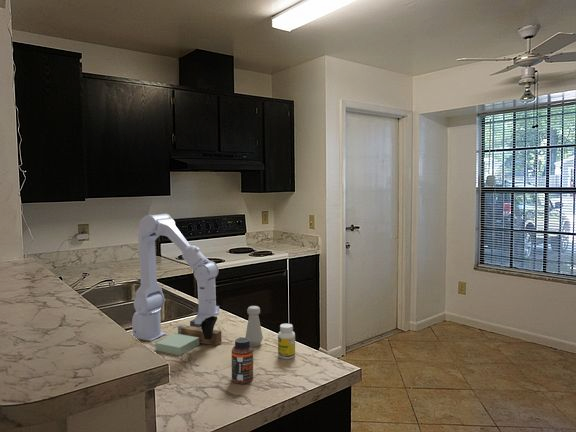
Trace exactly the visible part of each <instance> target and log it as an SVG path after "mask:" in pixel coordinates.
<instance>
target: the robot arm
mask: <svg viewBox="0 0 576 432" xmlns="http://www.w3.org/2000/svg"><path fill="white" fill-rule="evenodd" d="M160 236H164V237H167V238H168V239H169V240H170V241H171V242H172V243H173V244H174V245H175V246H176V247H177V248H178V250H180V251H181V257H182V259H183V261H185V262H186V263H187V265H189V267H190V268H191V269H192V270H193V276H194V279H195V280H196V283H197V284H196V285H197V292H198V293H197V294H198V295H197V299H198V302H197V303H198V311H197V314H196V317H195V318H194V319H195V324H200V326H201V327H200V328H202V331H203V335H204V338H205V339H211V338H212V333H213V330H215V329H214V328H215V325H216V322H217V320H218V315H220V305H217V295H216V293H217V292H216V287H217V286H216V278H217V276H218V275H219V267H218V265H217V263H216V262H214V261H212V260H209V259H208V257H206V256H205V255H204V254H203V253H202V251H201V248H200V247H199V246H196V245H191V243H189V242H188V240H187V239H186V237H185V236H184V235H183V233H181V231H180V229H179V228H178V227H177V226H176V221H175V220H174V219H173V217H172V216H170V214H168V213H160V214H146V215H144V216H143V217H142V218H141V219H140V220H139V230H138V237H137V240H138V241H137V242H138V244H137V245H138V256H139V257H138V258H139V261H138V262H139V276H140V277H139V278H140V286H139V287H138V288H137V289H136V291H135V292H134V294H135V298H134V300H133V308H134V309H135V312H134V313H133V316H132V319H131V320H132V322H131V323H132V325H131V326H132V335H133V336H135V337H136V338H135V339H139V340H145V341H149V342H152V341H154V340H157V339H159V338H161V337H163V336H165V335H167V332H165V331H162V326H161V325H162V323H161V310H162V306H164V305H165V302H166V301H165V295H164V293H163V288H162V286H160V285H159V284H158V279H157V278H158V276H157V275H158V273H157V257H156V240H157V239H158V238H159V237H160Z"/></svg>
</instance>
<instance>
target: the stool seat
mask: <svg viewBox="0 0 576 432" xmlns="http://www.w3.org/2000/svg"><path fill="white" fill-rule="evenodd" d="M198 346H200V342H199V337H194V336H188V335H183V334H178V332H176V333H173V334H171V335H169V336H166V337H165V338H162V339H161V340H159V341H156V342H155V351H157V352H161V353H168V354H173V355H176V356H182V355H184V354H185V353H187V352H188V351H191V350H192V349H194V348H196V347H198Z"/></svg>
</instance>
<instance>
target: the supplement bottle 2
mask: <svg viewBox="0 0 576 432" xmlns="http://www.w3.org/2000/svg"><path fill="white" fill-rule="evenodd" d="M279 330H280V331H279V332H278V333H277V355H278V357H279V358H280V359H284V360H290V359H293V358H294V357H295V356H296V333H295V331H294V326H293V324H292V323H281V324H280V325H279Z"/></svg>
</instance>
